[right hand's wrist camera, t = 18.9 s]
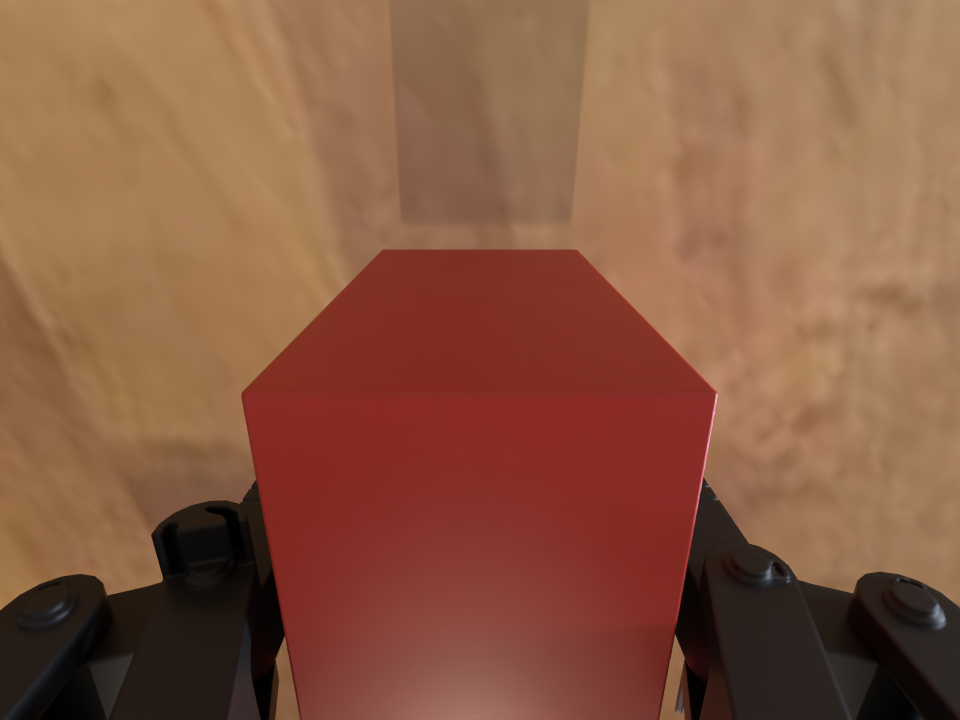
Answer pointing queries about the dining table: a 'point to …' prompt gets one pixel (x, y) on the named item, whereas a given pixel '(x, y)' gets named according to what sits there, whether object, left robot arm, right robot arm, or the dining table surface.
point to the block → (479, 492)
